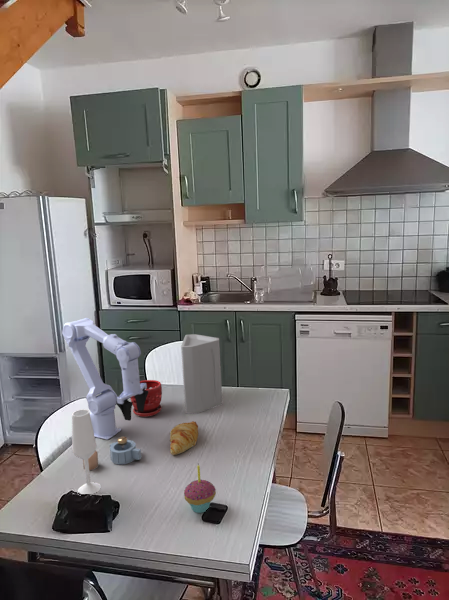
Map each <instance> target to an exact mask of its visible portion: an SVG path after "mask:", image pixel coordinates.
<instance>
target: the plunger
mask: <svg viewBox="0 0 449 600" xmlns="http://www.w3.org/2000/svg"><path fill="white" fill-rule="evenodd" d="M127 440H128V438H127V436H120V437H118V438H117V442H118V445H121V447H122V451H123V450H125V449H124V445H125V444H127Z"/></svg>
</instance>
